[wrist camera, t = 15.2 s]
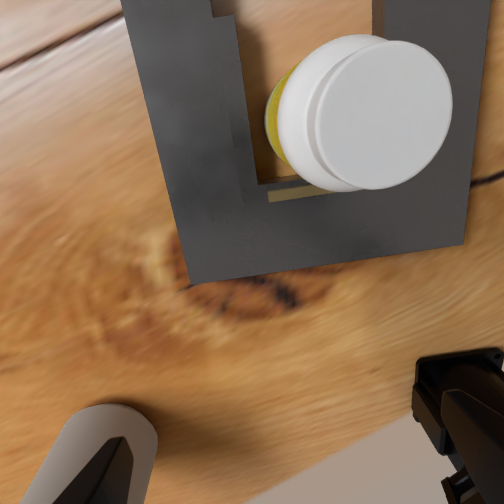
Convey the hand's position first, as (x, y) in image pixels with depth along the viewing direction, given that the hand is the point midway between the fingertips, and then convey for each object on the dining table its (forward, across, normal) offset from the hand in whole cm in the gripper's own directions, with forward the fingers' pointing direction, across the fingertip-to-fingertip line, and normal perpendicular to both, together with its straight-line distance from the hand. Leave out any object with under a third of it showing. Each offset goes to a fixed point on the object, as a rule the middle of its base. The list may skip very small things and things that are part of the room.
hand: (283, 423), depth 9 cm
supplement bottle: (+13, -4, -7) cm, 16 cm away
